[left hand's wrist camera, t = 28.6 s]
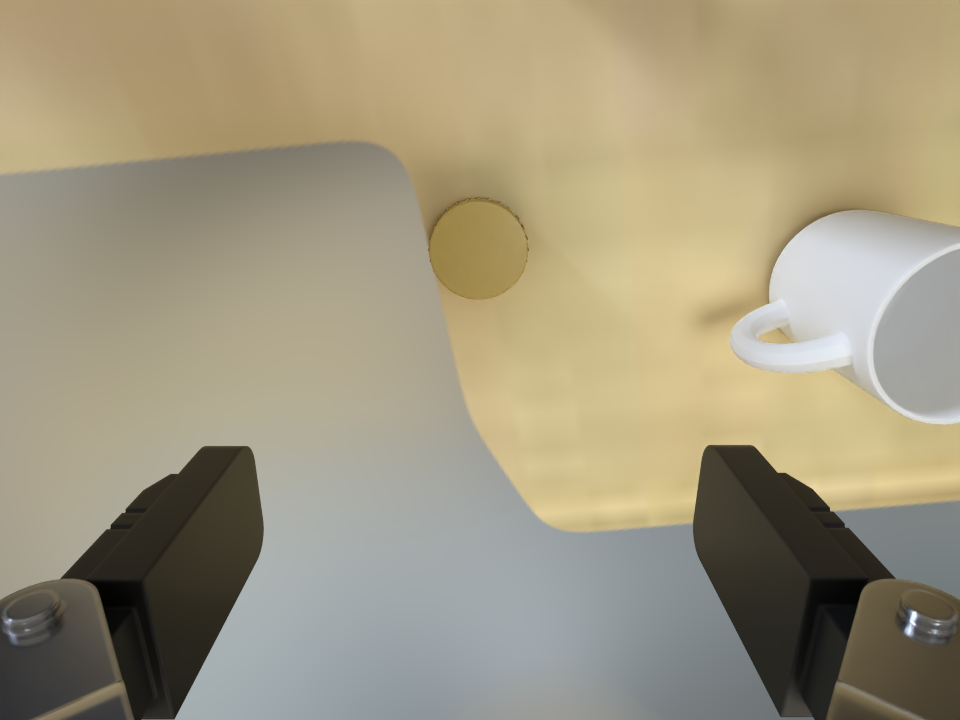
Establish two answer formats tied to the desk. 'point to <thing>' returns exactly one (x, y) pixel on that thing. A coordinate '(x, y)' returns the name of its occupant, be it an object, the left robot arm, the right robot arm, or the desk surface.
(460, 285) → the lid
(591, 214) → the desk surface
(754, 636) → the left robot arm
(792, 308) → the mug
